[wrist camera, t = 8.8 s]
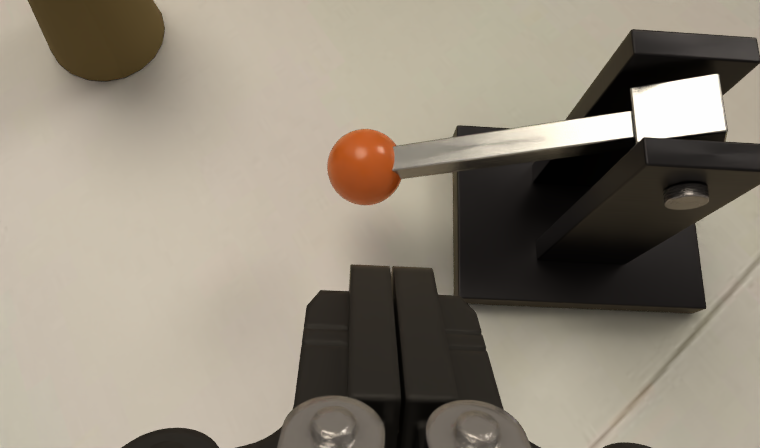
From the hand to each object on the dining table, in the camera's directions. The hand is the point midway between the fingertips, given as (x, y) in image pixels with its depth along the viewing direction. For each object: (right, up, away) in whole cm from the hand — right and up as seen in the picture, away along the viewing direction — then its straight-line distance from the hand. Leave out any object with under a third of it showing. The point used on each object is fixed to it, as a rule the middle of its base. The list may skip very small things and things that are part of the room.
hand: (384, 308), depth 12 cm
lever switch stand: (+10, +2, +21) cm, 23 cm away
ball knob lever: (+5, +4, +15) cm, 16 cm away
